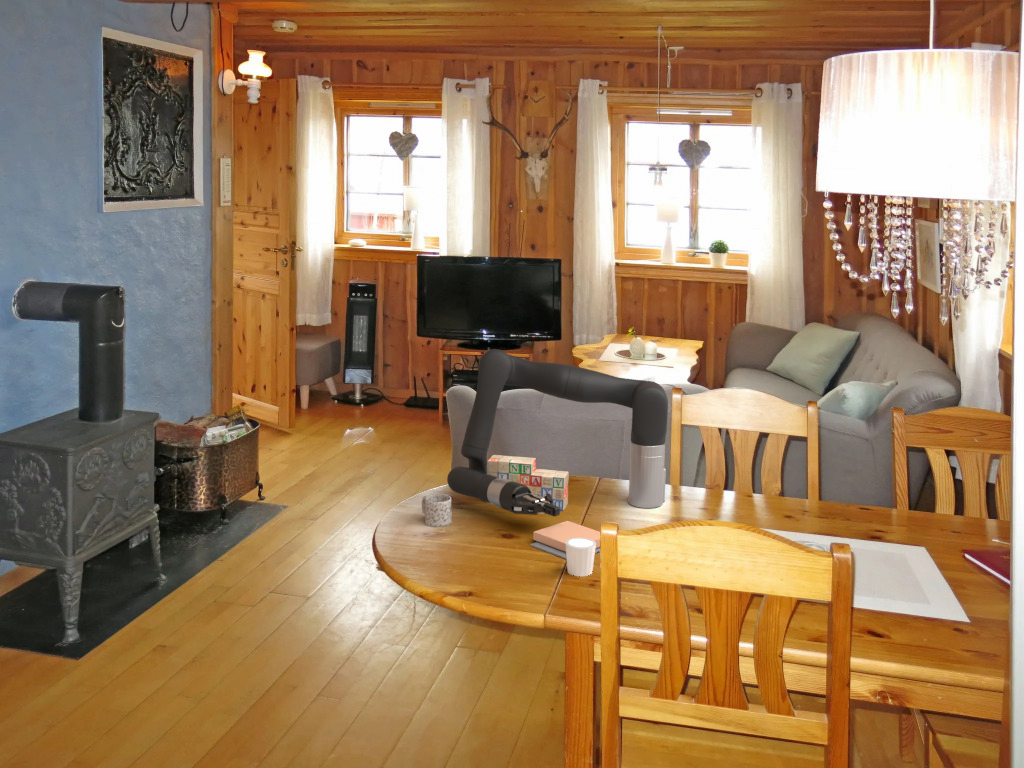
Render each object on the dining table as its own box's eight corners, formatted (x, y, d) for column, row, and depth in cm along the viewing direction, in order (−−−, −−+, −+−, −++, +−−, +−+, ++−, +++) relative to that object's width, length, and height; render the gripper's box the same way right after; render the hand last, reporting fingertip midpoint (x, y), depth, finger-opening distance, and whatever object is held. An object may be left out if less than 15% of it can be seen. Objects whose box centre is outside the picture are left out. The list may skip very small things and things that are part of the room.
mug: (456, 523, 264) (456, 498, 262) (435, 529, 259) (435, 504, 258) (433, 513, 271) (433, 489, 270) (412, 518, 267) (412, 494, 265)
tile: (567, 520, 258) (609, 535, 249) (567, 529, 259) (609, 544, 249) (533, 531, 250) (575, 547, 240) (533, 541, 251) (575, 557, 241)
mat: (575, 530, 260) (575, 528, 260) (618, 545, 250) (618, 543, 250) (530, 545, 249) (530, 544, 249) (572, 562, 239) (572, 560, 239)
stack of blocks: (568, 504, 280) (569, 460, 277) (563, 511, 274) (564, 467, 271) (492, 496, 286) (493, 453, 283) (486, 503, 280) (486, 459, 277)
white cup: (593, 566, 237) (594, 537, 235) (596, 577, 230) (597, 548, 229) (563, 566, 237) (564, 537, 235) (566, 577, 230) (566, 548, 228)
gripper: (489, 486, 259) (538, 503, 247) (527, 476, 268) (576, 491, 256) (489, 514, 260) (538, 532, 248) (527, 503, 269) (575, 520, 257)
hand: (557, 512), depth 252 cm, fingers closed
